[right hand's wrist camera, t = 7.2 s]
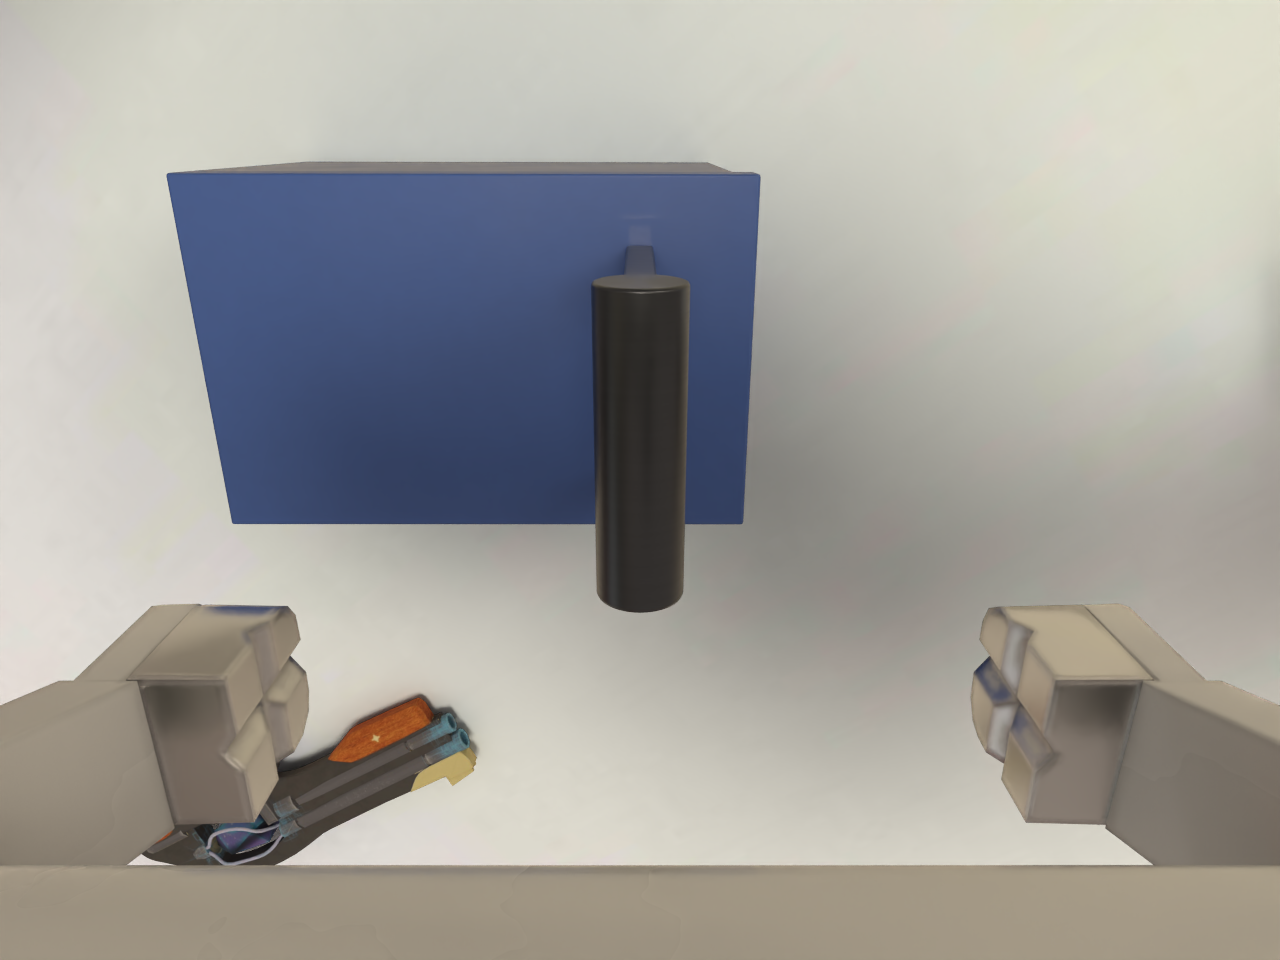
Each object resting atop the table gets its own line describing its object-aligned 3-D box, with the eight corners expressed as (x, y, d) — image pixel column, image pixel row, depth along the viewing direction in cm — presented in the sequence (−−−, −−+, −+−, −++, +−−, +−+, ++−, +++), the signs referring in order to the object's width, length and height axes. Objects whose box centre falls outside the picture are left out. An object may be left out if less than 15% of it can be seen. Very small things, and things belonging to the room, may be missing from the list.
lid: (754, 171, 23) (822, 193, 15) (738, 507, 27) (784, 680, 18) (188, 171, 23) (-72, 191, 15) (249, 507, 27) (69, 680, 18)
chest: (709, 162, 31) (734, 171, 23) (702, 421, 35) (721, 507, 27) (306, 161, 31) (189, 170, 23) (340, 420, 35) (250, 507, 27)
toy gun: (-3, 787, 39) (130, 952, 41) (358, 599, 37) (478, 783, 39) (37, 753, 41) (160, 910, 43) (377, 577, 39) (488, 750, 41)
